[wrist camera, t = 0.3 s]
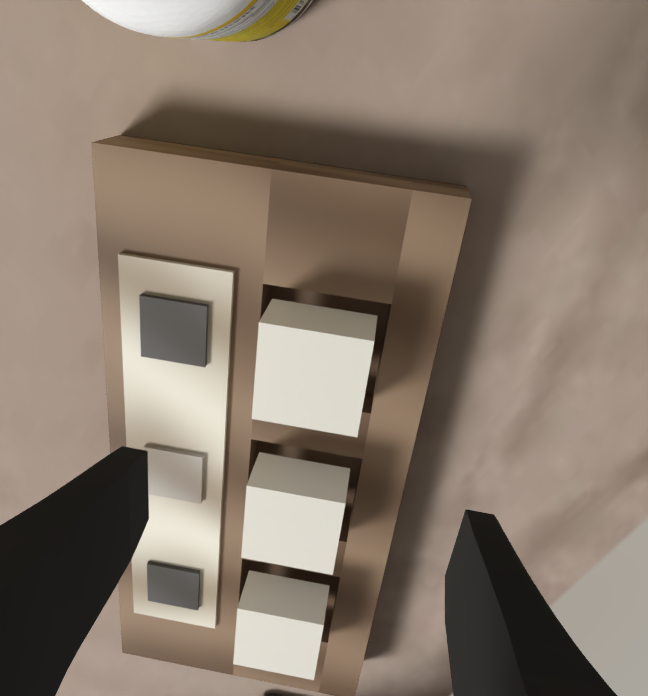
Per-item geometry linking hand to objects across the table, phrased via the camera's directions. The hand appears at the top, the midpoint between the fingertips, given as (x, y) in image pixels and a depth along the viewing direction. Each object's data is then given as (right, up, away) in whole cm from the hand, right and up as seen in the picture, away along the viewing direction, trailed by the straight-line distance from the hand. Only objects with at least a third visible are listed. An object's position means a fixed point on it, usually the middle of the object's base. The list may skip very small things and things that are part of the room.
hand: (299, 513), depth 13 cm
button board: (-2, -1, +12) cm, 13 cm away
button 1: (-1, -8, +13) cm, 16 cm away
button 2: (0, +4, +7) cm, 8 cm away
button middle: (0, -2, +10) cm, 11 cm away
